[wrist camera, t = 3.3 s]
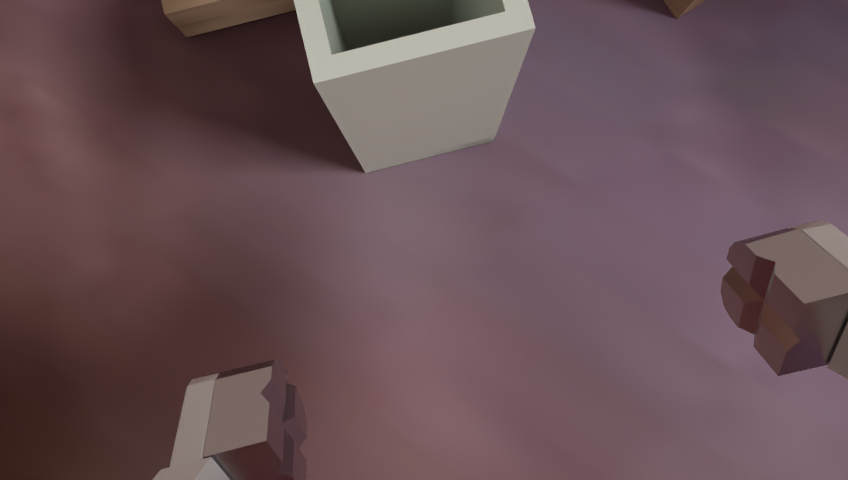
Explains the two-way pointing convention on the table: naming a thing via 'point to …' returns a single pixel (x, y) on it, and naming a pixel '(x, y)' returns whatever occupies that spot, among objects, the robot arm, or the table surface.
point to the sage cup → (414, 71)
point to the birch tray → (220, 13)
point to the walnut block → (681, 6)
